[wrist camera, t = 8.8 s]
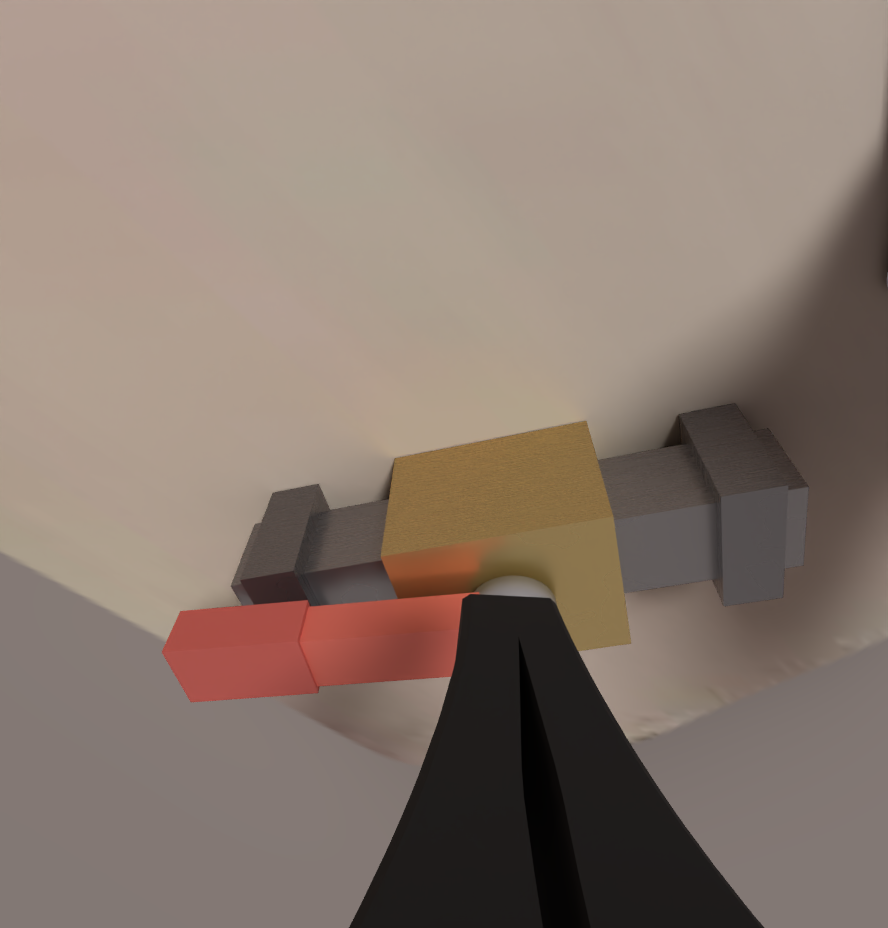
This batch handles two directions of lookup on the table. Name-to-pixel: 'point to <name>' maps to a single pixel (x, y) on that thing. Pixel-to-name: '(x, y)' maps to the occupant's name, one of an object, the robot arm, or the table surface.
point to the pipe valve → (548, 525)
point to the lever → (321, 643)
